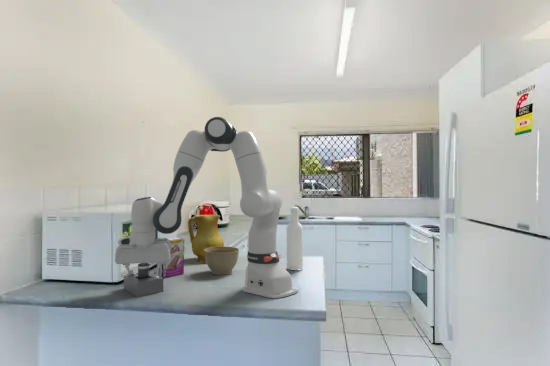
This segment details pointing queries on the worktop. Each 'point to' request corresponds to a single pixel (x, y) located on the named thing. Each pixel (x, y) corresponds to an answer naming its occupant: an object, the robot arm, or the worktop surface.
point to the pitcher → (204, 234)
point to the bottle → (294, 242)
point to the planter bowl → (221, 259)
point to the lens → (143, 271)
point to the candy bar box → (173, 260)
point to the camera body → (143, 284)
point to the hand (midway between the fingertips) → (143, 274)
